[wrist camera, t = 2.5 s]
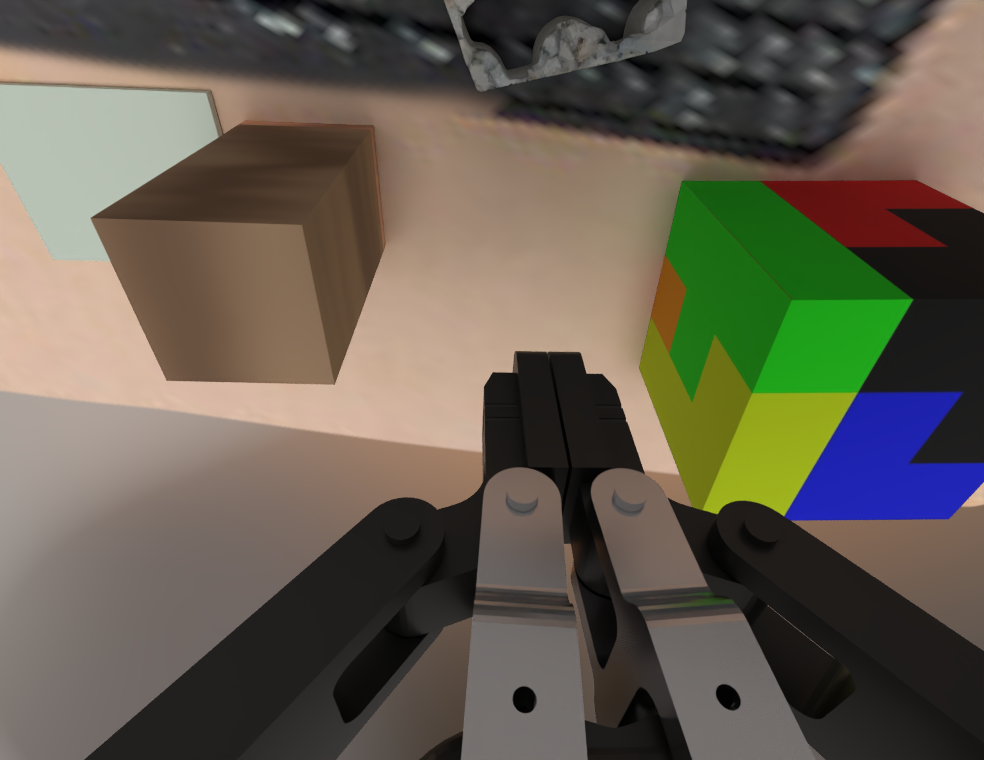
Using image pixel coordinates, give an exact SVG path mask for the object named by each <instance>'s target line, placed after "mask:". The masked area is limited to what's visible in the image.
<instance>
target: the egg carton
mask: <svg viewBox="0 0 984 760" xmlns="http://www.w3.org/2000/svg"><path fill="white" fill-rule="evenodd" d="M444 1H445V4H446V7H447V10H448V13H449V16H450V18H451V21H452V24H453V27H454V29H455V32H456V35H457V37H458V40H459V43H460V46H461V50H462V53H463V56H464V59H465V62H466V64H467V66H468V68H469V70H470V73H471V76H472V78H473V81H474V83H475V86H476V89H477V90H478V91H479V92H481V91H486V90H490V89H495V88H498V87H503V86H508V85H512V84H517V83H521V82H527V81H530V80H534V79H539V78H543V77H548V76H553V75H558V74H563V73H567V72H571V71H575V70H580V69H584V68H589V67H593V66H598V65H602V64H606V63H611V62H615V61H616V62H618V61H621V60H623V59H627V58H630V57H635V56H639V55H643V54H647V53H650V52H654V51H657V50H660V49H662V48H665V47H668V46H670V45H673V44H676V43H678V42H681V40H682V38H683V36H684V33H685V21H686V7H687V0H639V1H638V2H637V4H636V5H635V6H634V7H633V8H632V10H631V12H630V14H629V16H628V19H627V22H626V25H625V30H624V35H623V38H622V39H620V40H618V41H612V42H610V40H609V38H608V37H607V35H606V34H605V32H604V31H603V30H602V29H600V28H597V27H594V26H591V25H590V24H588V23H587V22H585V21H583V20H581V19H579V18H577V17H572V16H565V15H563V16H559V17H556V18H554V19H552V20H551V21H549V22H548V23H547V24H546V25H545V26H544V27H543V28H542V29H541V31H540V32H539V33H538V35H537V38H536V40H535V43H534V47H533V56H532V62H531V63H530V64H529V65H525V66H521V67H518V68H515V69H510V70H507V69H506V68H505V66H504V65H503V63H502V60H501V58H500V57H499V55H498V54H497V53H496V52H495V51H494V50H493V49H492V48H491V46H489V45H486V44H484V43H482V42H475V41H472V40H471V39H470V36H469V34H468V31H467V29H466V26H465V23H464V20H463V17H462V15H463V14H465V11H466V9H467V8H468V7H469V6H470V5H471V4H472V3H473V2H474V0H444Z"/></svg>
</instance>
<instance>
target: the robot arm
mask: <svg viewBox="0 0 984 760" xmlns="http://www.w3.org/2000/svg"><path fill="white" fill-rule="evenodd" d="M482 449H483V483H482V485H481V487H480V488H479V489H478V491H477V492H476V493H475V494H474V495H472V496H471V497H470V498H468V499H467V500H465V501H463V502H461V503H458V504H455V505H452V506H449V507H445V508H442V509H439V510H437V509H436V508H435V507H433V506H432V505H431V504H429V503H428V502H426V501H423V500H421V499H416V498H406V497H405V498H397V499H393V500H390V501H387V502H385V503H383V504H381V505H379V506H378V507H377V508H375V509H374V510H373V511H372V512H370V513H369V514H368V515H367V516H366V517H365V518H364V519H362V520H361V521H360V522H359V523H358V524H357V525H355V526H354V527H353V528H352V529H351V530H350V531H349V532H347V533H346V534H345V535H344V536H343V537H342V538H340V539H339V540H338V541H337V542H336V543H335V544H333V545H332V546H331V547H330V548H329V549H328V550H326V551H325V552H324V553H323V554H322V555H321V556H320V557H318V558H317V559H316V560H315V561H314V562H313V563H311V564H310V565H309V566H308V567H307V568H306V569H305V570H303V571H302V572H301V573H300V574H299V575H298V576H296V577H295V578H294V579H293V580H292V581H291V582H289V583H288V584H287V585H286V586H285V587H284V588H283V589H281V590H280V591H279V592H278V593H277V594H276V595H274V596H273V597H272V598H271V599H270V600H269V601H267V602H266V603H265V604H264V605H263V606H262V607H261V608H259V609H258V610H257V611H256V612H255V613H254V614H252V615H251V616H250V617H249V618H248V619H247V620H245V621H244V622H243V623H242V624H241V625H240V626H239V627H237V628H236V629H235V630H234V631H233V632H232V633H231V634H229V635H228V636H227V637H226V638H225V639H224V640H222V641H221V642H220V643H219V644H218V645H217V646H215V647H214V648H213V649H212V650H211V651H210V652H208V653H207V654H206V655H205V656H204V657H203V658H202V659H200V660H199V661H198V662H197V663H196V664H195V665H194V666H192V667H191V668H190V669H189V670H188V671H186V672H185V673H184V674H183V675H182V676H181V677H180V678H178V679H177V680H176V681H175V682H174V683H173V684H172V685H170V686H169V687H168V688H167V689H166V690H165V691H164V692H162V693H161V694H160V695H159V696H158V697H157V698H155V699H154V700H153V701H152V702H151V703H149V704H148V705H147V706H146V707H145V708H144V709H142V711H140V712H139V713H138V714H137V715H136V716H134V717H133V718H132V719H131V720H130V721H129V722H127V723H126V724H125V725H124V726H123V727H122V728H120V729H119V730H118V731H117V732H116V733H115V734H113V735H112V736H111V737H110V738H109V739H108V740H107V741H105V742H104V743H103V744H102V745H101V746H100V747H99V748H97V749H96V750H95V751H94V752H93V753H92V754H90V755H89V756H88V757H87V758H86V759H85V760H336V759H337V758H338V756H339V755H340V754H341V753H342V752H343V750H344V749H345V748H346V747H347V746H348V744H349V743H350V742H351V741H352V739H353V738H354V737H355V736H356V735H357V733H358V732H359V731H360V730H361V729H362V727H363V726H364V725H365V724H366V723H367V721H368V720H369V719H370V718H371V717H372V715H373V714H374V713H375V712H376V711H377V709H378V708H379V707H380V705H381V704H382V703H383V702H384V701H385V700H386V698H387V697H388V696H389V695H390V694H391V692H392V691H393V690H394V689H395V687H396V686H397V685H398V684H399V683H400V681H401V680H402V679H403V678H404V677H405V675H406V674H407V673H408V672H409V671H410V669H411V668H412V667H413V666H414V664H415V663H416V662H417V661H418V660H419V658H420V657H421V656H422V655H423V654H424V652H425V651H426V650H427V649H428V647H429V646H430V645H431V644H432V643H433V642H434V640H435V639H436V638H437V636H438V635H439V634H440V633H441V631H442V630H443V628H444V627H445V626H448V625H451V624H454V623H457V622H459V621H462V620H465V619H467V618H470V617H473V620H472V632H471V644H470V656H469V669H468V680H467V693H466V705H465V718H464V729H463V731H462V732H459V733H457V734H455V735H453V736H451V737H450V738H448V739H446V740H444V741H442V742H441V743H439V744H438V745H437V746H435V747H434V748H432V749H431V750H430V751H428V752H427V753H426V754H425V755H424V756H423V757H422V758H421V759H419V760H816V759H815V757H814V755H813V753H812V751H811V749H810V747H809V745H810V746H812V747H813V748H814V749H815V750H816V751H817V752H818V753H819V754H820V755H821V756H822V757H824V758H825V759H826V760H984V651H983V650H981V649H980V648H978V647H977V646H975V645H974V644H972V643H971V642H969V641H968V640H966V639H965V638H964V637H962V636H961V635H959V634H958V633H956V632H955V631H953V630H952V629H950V628H948V627H947V626H946V625H944V624H943V623H941V622H940V621H938V620H937V619H935V618H934V617H932V616H931V615H929V614H928V613H926V612H925V611H924V610H922V609H921V608H919V607H918V606H916V605H915V604H913V603H912V602H910V601H909V600H907V599H906V598H904V597H903V596H901V595H900V594H898V593H897V592H895V591H894V590H892V589H891V588H889V587H888V586H887V585H885V584H884V583H882V582H881V581H879V580H878V579H876V578H875V577H873V576H871V575H870V574H869V573H867V572H866V571H864V570H863V569H861V568H860V567H858V566H857V565H855V564H854V563H852V562H851V561H849V560H848V559H847V558H845V557H843V556H842V555H840V554H839V553H838V552H836V551H835V550H833V549H832V548H830V547H829V546H827V545H826V544H824V543H823V542H821V541H820V540H818V539H817V538H815V537H814V536H812V535H811V534H810V533H808V532H806V531H805V530H803V529H802V528H801V527H799V526H798V525H796V524H795V523H793V522H792V521H790V520H789V519H787V518H786V517H784V516H783V515H781V514H780V513H778V512H777V511H775V510H773V509H772V508H770V507H767V506H765V505H763V504H760V503H756V502H752V501H734V502H731V503H728V504H726V505H725V506H723V507H722V508H721V510H720V511H719V513H718V514H715V513H711V512H708V511H704V510H700V509H697V508H693V507H689V506H686V505H683V504H680V503H677V502H675V501H673V500H671V499H669V498H667V496H666V494H665V493H664V490H663V489H662V488H661V487H660V485H659V484H658V483H657V482H656V481H654V480H653V479H651V478H650V477H649V476H647V475H645V473H644V470H643V467H642V464H641V461H640V458H639V455H638V452H637V449H636V447H635V444H634V441H633V438H632V435H631V432H630V429H629V426H628V423H627V422H626V417H625V414H624V411H623V408H621V402H620V399H619V396H618V393H617V390H616V388H615V387H614V386H613V385H612V384H611V383H610V382H609V381H608V380H607V379H606V378H605V377H604V376H603V374H586V370H585V367H584V363H583V359H582V356H581V353H580V352H548V353H547V352H531V351H515V354H514V363H513V373H495V372H493V373H492V375H491V376H490V378H489V380H488V381H487V383H486V384H485V386H484V402H483V429H482ZM564 544H571V547H572V553H573V559H574V560H573V564H572V568H571V575H570V578H571V584H572V588H573V592H574V596H575V600H576V605H577V609H578V613H579V617H580V622H581V626H582V630H583V634H584V639H585V643H586V647H587V651H588V655H589V660H590V664H591V668H592V673H593V680H594V708H595V717H596V723H597V724H596V723H592V722H589V721H585V720H584V709H583V696H582V684H581V671H580V659H579V646H578V633H577V622H576V615H575V610H574V607H573V604H572V603H569V600H568V594H567V580H566V567H565V552H564ZM767 605H769V606H770V607H771V608H772V609H774V610H775V611H776V612H777V613H779V614H780V615H781V616H782V617H784V618H785V619H786V620H787V621H789V622H790V623H791V624H792V625H794V626H795V627H796V628H798V629H799V630H800V631H801V632H803V633H804V634H805V635H806V636H808V637H809V638H810V639H811V640H813V641H814V642H815V643H816V644H818V645H819V646H820V647H821V648H823V649H824V650H825V651H826V652H828V653H829V654H830V655H831V656H830V655H829V654H827V653H826V652H825V651H824V650H822V649H821V648H820V647H819V646H817V645H816V644H815V643H814V642H812V641H811V640H810V639H809V638H807V637H806V636H805V635H803V634H802V633H801V632H800V631H799V630H797V629H796V628H794V627H793V626H792V625H791V624H790V623H788V622H787V621H786V620H785V619H783V618H782V617H781V616H780V615H778V614H777V613H776V612H775V611H773V610H772V609H771V608H770V607H768V606H767ZM832 656H833V657H834V658H833V657H832ZM808 744H809V745H808Z"/></svg>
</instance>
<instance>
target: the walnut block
mask: <svg viewBox="0 0 984 760" xmlns="http://www.w3.org/2000/svg"><path fill="white" fill-rule="evenodd" d="M90 219H91V221H92V223H93V225H94V227H95V229H96V231H97V234H98V236H99V238H100V240H101V242H102V244H103V246H104V248H105V251H106V253H107V255H108V257H109V259H110V261H111V263H112V265H113V268H114V270H115V272H116V274H117V276H118V278H119V280H120V282H121V284H122V287H123V289H124V291H125V293H126V295H127V297H128V299H129V301H130V304H131V306H132V308H133V310H134V312H135V314H136V316H137V318H138V321H139V323H140V325H141V327H142V329H143V331H144V333H145V335H146V337H147V340H148V342H149V344H150V346H151V348H152V350H153V352H154V354H155V357H156V359H157V361H158V363H159V365H160V367H161V369H162V371H163V374H164V376H165V378H166V380H167V381H204V382H247V383H290V384H333V385H335V382H336V379H337V377H338V374H339V371H340V368H341V366H342V363H343V360H344V358H345V355H346V352H347V349H348V347H349V344H350V341H351V338H352V336H353V333H354V330H355V327H356V325H357V322H358V319H359V316H360V314H361V311H362V308H363V305H364V303H365V300H366V297H367V294H368V292H369V289H370V286H371V284H372V281H373V278H374V275H375V273H376V270H377V267H378V264H379V262H380V259H381V256H382V253H383V251H384V248H385V236H384V226H383V216H382V206H381V196H380V186H379V176H378V166H377V156H376V146H375V136H374V126H367V125H341V124H315V123H290V122H264V121H244V122H242V123H241V124H239V125H238V126H236V127H234V128H233V129H231V130H230V131H228V132H226V133H225V134H223V135H222V136H220V137H218V138H217V139H215V140H214V141H212V142H210V143H209V144H207V145H206V146H204V147H203V148H201V149H199V150H198V151H196V152H195V153H193V154H191V155H190V156H188V157H187V158H185V159H183V160H182V161H180V162H179V163H177V164H175V165H174V166H172V167H171V168H169V169H167V170H166V171H164V172H163V173H161V174H159V175H158V176H156V177H155V178H153V179H152V180H150V181H148V182H147V183H145V184H144V185H142V186H140V187H139V188H137V189H136V190H134V191H132V192H131V193H129V194H128V195H126V196H124V197H123V198H121V199H120V200H118V201H116V202H115V203H113V204H112V205H110V206H109V207H107V208H105V209H104V210H102V211H101V212H99V213H97V214H96V215H94V216H93V217H91V218H90Z"/></svg>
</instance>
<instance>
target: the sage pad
mask: <svg viewBox="0 0 984 760" xmlns="http://www.w3.org/2000/svg"><path fill="white" fill-rule="evenodd" d="M222 135H223V134H222V130H221V127H220V123H219V119H218V116H217V112H216V108H215V105H214V101H213V97H212V94H211V91H200V90H176V89H151V88H127V87H102V86H78V85H53V84H28V83H4V82H0V163H1V165H2V167H3V169H4V171H5V172H6V174H7V176H8V178H9V180H10V182H11V183H12V185H13V187H14V189H15V191H16V193H17V194H18V196H19V198H20V200H21V202H22V203H23V205H24V207H25V209H26V211H27V213H28V214H29V216H30V218H31V220H32V222H33V224H34V225H35V227H36V229H37V231H38V233H39V235H40V236H41V238H42V240H43V242H44V244H45V246H46V247H47V249H48V251H49V253H50V255H51V257H52V258H53V260H81V261H110V259H109V257H108V255H107V253H106V251H105V248H104V246H103V244H102V242H101V240H100V238H99V236H98V234H97V231H96V229H95V227H94V225H93V223H92V221H91V219H90V218H91V217H93V216H94V215H96V214H97V213H99V212H101V211H102V210H104V209H105V208H107V207H109V206H110V205H112V204H113V203H115V202H116V201H118V200H120V199H121V198H123V197H124V196H126V195H128V194H129V193H131V192H132V191H134V190H136V189H137V188H139V187H140V186H142V185H144V184H145V183H147V182H148V181H150V180H152V179H153V178H155V177H156V176H158V175H159V174H161V173H163V172H164V171H166V170H167V169H169V168H171V167H172V166H174V165H175V164H177V163H179V162H180V161H182V160H183V159H185V158H187V157H188V156H190V155H191V154H193V153H195V152H196V151H198V150H199V149H201V148H203V147H204V146H206V145H207V144H209V143H210V142H212V141H214V140H215V139H217V138H218V137H220V136H222Z"/></svg>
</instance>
